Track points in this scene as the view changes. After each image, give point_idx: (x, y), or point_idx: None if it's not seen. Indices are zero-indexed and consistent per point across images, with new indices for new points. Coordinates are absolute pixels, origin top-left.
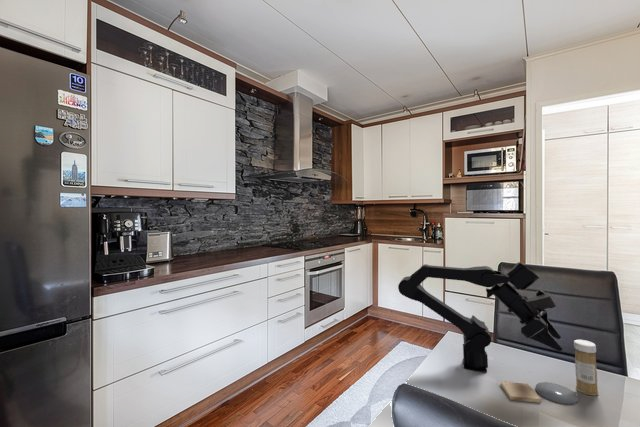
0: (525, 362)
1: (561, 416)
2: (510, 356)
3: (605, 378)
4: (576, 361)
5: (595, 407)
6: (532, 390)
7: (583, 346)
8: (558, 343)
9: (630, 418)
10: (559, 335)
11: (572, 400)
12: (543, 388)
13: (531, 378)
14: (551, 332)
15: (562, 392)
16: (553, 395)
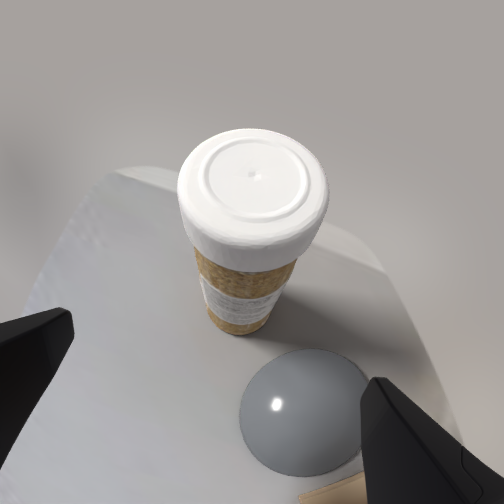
0: (69, 452)
1: (432, 407)
2: (43, 484)
3: (119, 215)
4: (260, 300)
5: (343, 310)
6: (349, 486)
7: (326, 208)
8: (399, 406)
9: (355, 240)
10: (59, 318)
11: (352, 371)
12: (305, 453)
13: (211, 477)
14: (30, 375)
15: (306, 394)
16: (345, 426)
